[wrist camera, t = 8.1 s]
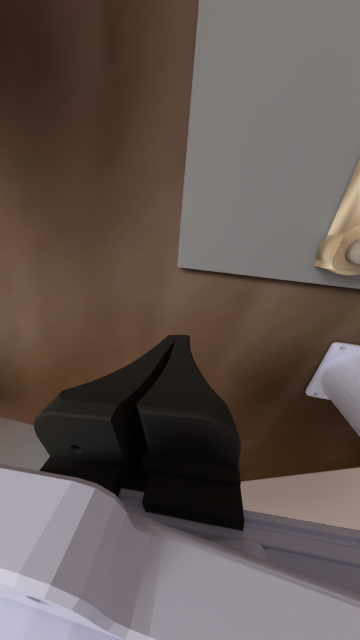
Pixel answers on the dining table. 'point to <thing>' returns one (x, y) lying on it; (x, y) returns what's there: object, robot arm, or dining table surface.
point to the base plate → (270, 136)
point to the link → (343, 234)
